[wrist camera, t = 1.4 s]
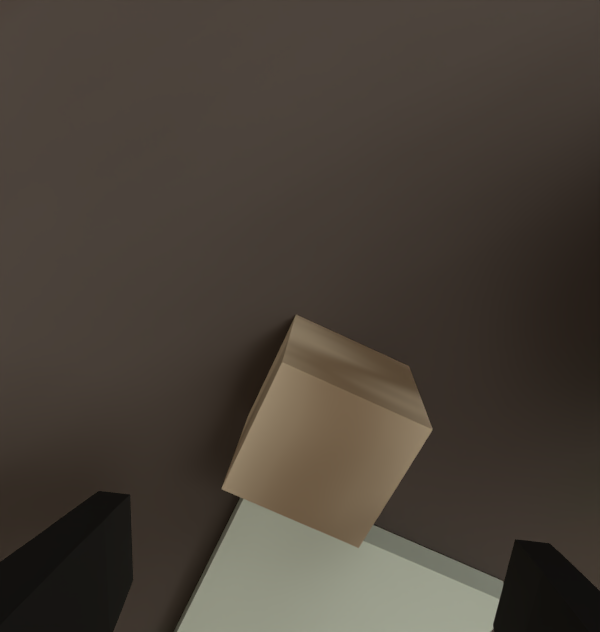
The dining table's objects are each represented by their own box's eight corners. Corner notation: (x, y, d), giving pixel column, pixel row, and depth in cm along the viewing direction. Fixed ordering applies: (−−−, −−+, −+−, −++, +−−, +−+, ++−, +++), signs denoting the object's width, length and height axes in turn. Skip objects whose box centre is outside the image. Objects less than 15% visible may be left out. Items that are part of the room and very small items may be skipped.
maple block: (408, 365, 15) (433, 429, 11) (353, 460, 16) (358, 548, 13) (296, 313, 15) (282, 362, 11) (248, 414, 16) (221, 489, 12)
